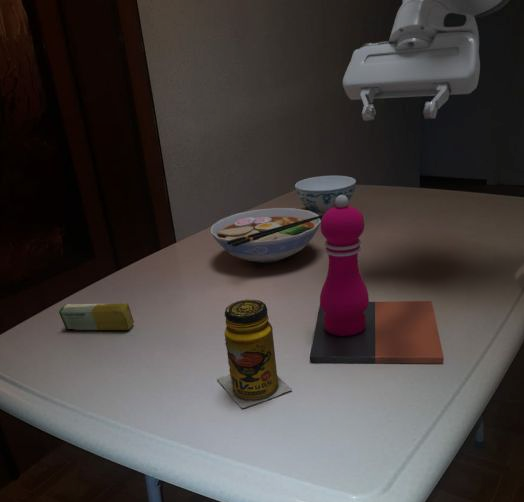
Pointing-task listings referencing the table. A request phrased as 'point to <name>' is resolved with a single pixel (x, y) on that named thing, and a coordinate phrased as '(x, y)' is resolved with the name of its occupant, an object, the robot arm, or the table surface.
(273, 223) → the ramen bowl
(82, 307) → the medication box
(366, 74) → the robot arm
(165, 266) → the table surface
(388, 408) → the table surface
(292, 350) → the table surface
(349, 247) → the pepper mill
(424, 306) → the sorting board
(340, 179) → the chinaware
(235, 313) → the condiment
